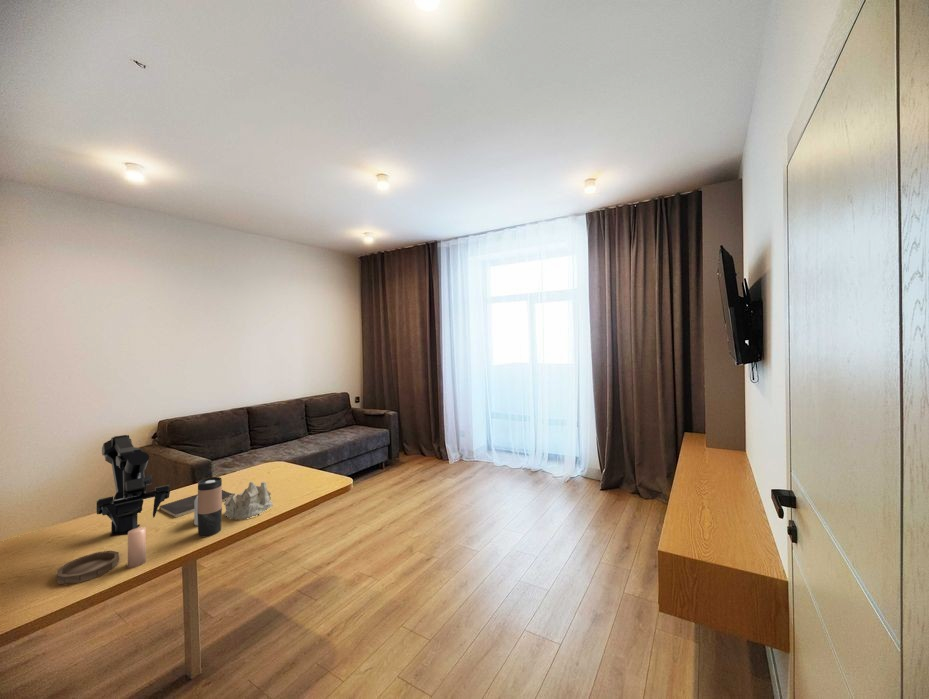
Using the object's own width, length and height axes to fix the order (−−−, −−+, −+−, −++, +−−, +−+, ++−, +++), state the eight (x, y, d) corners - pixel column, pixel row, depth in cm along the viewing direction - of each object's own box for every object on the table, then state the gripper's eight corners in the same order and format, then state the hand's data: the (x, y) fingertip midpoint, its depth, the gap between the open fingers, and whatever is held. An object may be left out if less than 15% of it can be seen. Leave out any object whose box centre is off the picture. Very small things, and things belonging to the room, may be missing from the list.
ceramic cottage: (279, 506, 158) (276, 473, 158) (243, 524, 143) (240, 487, 143) (255, 502, 164) (253, 470, 164) (219, 519, 149) (216, 484, 149)
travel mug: (226, 527, 140) (226, 476, 140) (213, 537, 132) (213, 484, 132) (206, 527, 140) (206, 477, 140) (192, 537, 132) (192, 484, 132)
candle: (148, 558, 118) (148, 526, 118) (140, 566, 114) (140, 532, 114) (132, 561, 117) (133, 528, 117) (124, 568, 113) (124, 534, 113)
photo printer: (205, 514, 150) (205, 485, 150) (217, 513, 151) (217, 485, 151) (192, 526, 140) (192, 495, 140) (204, 525, 141) (204, 494, 141)
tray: (128, 555, 120) (128, 548, 120) (100, 580, 107) (100, 572, 107) (79, 561, 117) (79, 554, 117) (43, 588, 104) (43, 579, 104)
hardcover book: (234, 499, 167) (234, 494, 167) (175, 519, 147) (175, 513, 147) (216, 492, 175) (217, 487, 175) (159, 510, 155) (159, 505, 155)
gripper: (96, 475, 117) (96, 519, 109) (169, 462, 130) (173, 501, 122) (96, 492, 122) (96, 536, 114) (166, 478, 136) (170, 516, 128)
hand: (136, 521), depth 120 cm, fingers open, 9 cm apart
